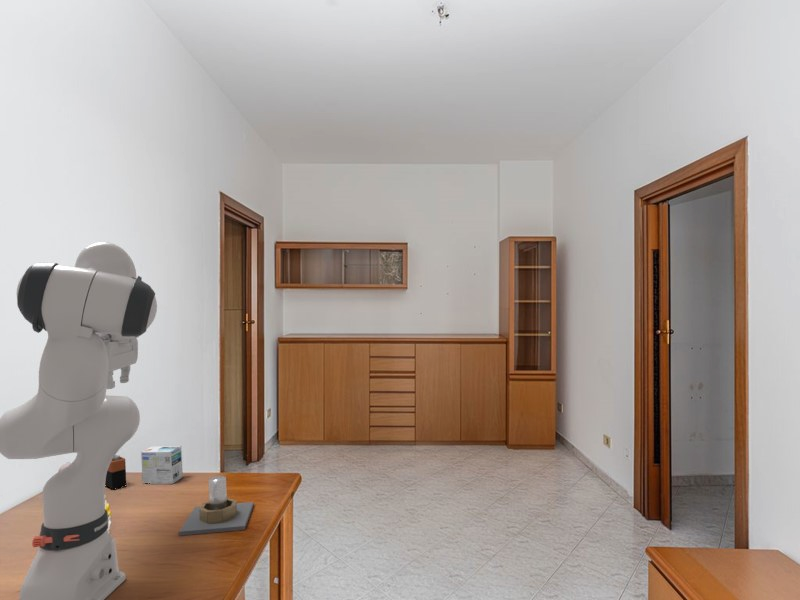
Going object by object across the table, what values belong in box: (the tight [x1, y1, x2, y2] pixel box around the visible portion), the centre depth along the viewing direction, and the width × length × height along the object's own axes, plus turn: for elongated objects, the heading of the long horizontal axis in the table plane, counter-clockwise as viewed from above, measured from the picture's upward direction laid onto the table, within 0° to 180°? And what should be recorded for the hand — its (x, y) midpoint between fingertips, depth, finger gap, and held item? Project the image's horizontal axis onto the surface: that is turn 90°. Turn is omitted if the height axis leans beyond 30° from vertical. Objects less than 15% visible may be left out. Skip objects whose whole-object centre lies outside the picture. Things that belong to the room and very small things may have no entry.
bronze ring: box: [199, 497, 238, 524], centre depth 142 cm, size 9×9×3 cm
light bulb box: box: [140, 445, 184, 485], centre depth 175 cm, size 11×7×11 cm, turn 84°
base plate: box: [178, 501, 255, 537], centre depth 142 cm, size 16×16×1 cm
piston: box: [208, 475, 228, 510], centre depth 142 cm, size 4×4×10 cm
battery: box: [105, 454, 127, 490], centre depth 171 cm, size 4×7×10 cm, turn 51°
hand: (117, 385), depth 140 cm, fingers open, 8 cm apart
